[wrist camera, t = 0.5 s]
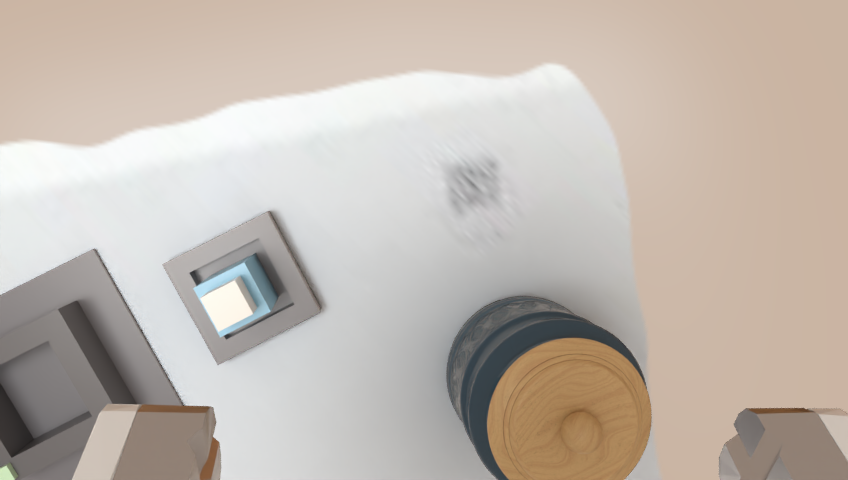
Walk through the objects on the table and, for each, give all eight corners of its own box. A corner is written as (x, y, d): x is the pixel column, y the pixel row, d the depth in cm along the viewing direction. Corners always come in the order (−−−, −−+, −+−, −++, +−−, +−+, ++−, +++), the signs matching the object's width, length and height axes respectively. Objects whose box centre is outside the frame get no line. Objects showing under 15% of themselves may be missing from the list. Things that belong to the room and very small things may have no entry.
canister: (451, 451, 62) (495, 556, 44) (436, 303, 61) (476, 351, 43) (596, 430, 63) (695, 524, 46) (584, 284, 62) (681, 324, 45)
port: (192, 421, 59) (179, 443, 54) (11, 515, 58) (-19, 546, 53) (94, 248, 57) (71, 255, 52) (-95, 342, 56) (-137, 358, 51)
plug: (278, 296, 59) (267, 318, 49) (234, 319, 58) (214, 345, 49) (255, 252, 58) (239, 266, 49) (210, 275, 58) (185, 293, 48)
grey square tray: (320, 308, 60) (320, 312, 58) (221, 358, 59) (217, 365, 57) (269, 211, 59) (266, 211, 57) (168, 261, 58) (162, 264, 56)
